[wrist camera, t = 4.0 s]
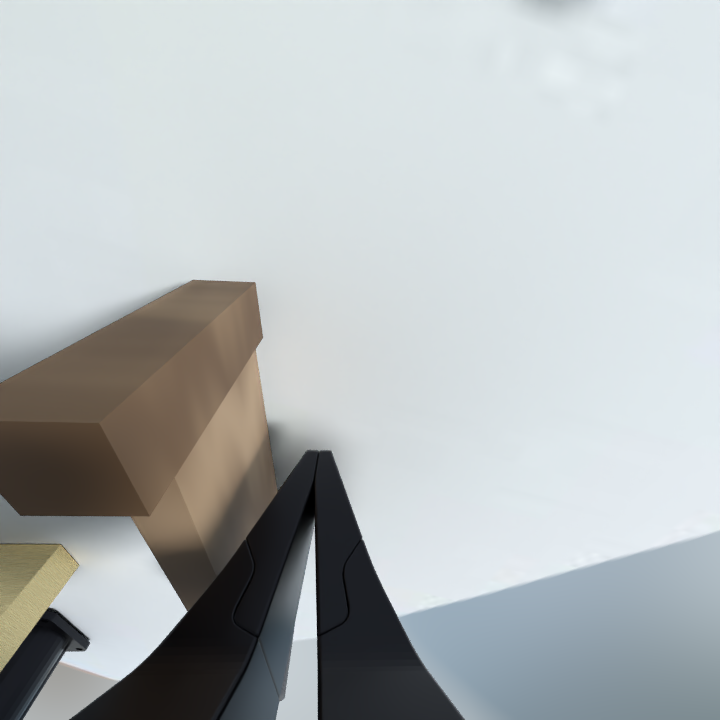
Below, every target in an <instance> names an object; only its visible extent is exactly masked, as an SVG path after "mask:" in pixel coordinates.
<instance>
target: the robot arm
mask: <svg viewBox="0 0 720 720" xmlns="http://www.w3.org/2000/svg"><path fill="white" fill-rule="evenodd" d="M314 524H315V555H316V605H317V655H318V656H317V658H318V720H465V719H464V718H463V717H462V715H461V714H460V712H459V711H458V710H457V709H456V707H455V706H454V704H453V703H452V702H451V700H450V699H449V698H448V697H447V695H446V694H445V693H444V691H443V690H442V689H441V687H440V686H439V685H438V683H437V682H436V681H435V679H434V678H433V677H432V675H431V674H430V673H429V671H428V670H427V669H426V667H425V666H424V664H423V663H422V661H421V660H420V658H419V656H418V654H417V653H416V651H415V649H414V648H413V646H412V644H411V642H410V640H409V638H408V636H407V635H406V633H405V631H404V629H403V627H402V625H401V623H400V621H399V619H398V617H397V615H396V613H395V611H394V609H393V607H392V605H391V603H390V601H389V599H388V597H387V595H386V593H385V591H384V589H383V587H382V584H381V582H380V580H379V578H378V576H377V574H376V571H375V569H374V567H373V564H372V562H371V559H370V556H369V554H368V551H367V549H366V546H365V543H364V540H362V535H361V532H360V529H359V527H358V524H357V521H356V518H355V516H354V513H353V510H352V507H351V504H350V502H349V499H348V496H347V493H346V490H345V488H344V485H343V482H342V479H341V476H340V474H339V471H338V468H337V465H336V463H335V460H334V457H333V454H332V452H331V451H330V450H321V451H318V450H307V451H306V452H305V454H304V455H303V457H302V458H301V459H300V461H299V462H298V464H297V465H296V467H295V468H294V469H293V471H292V472H291V474H290V475H289V477H288V478H287V479H286V481H285V482H284V484H283V485H282V487H281V488H280V489H279V491H278V492H277V494H276V495H275V497H274V498H273V499H272V501H271V502H270V504H269V505H268V507H267V508H266V509H265V511H264V512H263V514H262V515H261V517H260V518H259V519H258V521H257V522H256V524H255V525H254V527H253V528H252V529H251V531H250V532H249V534H248V535H247V537H246V540H244V541H243V542H242V544H241V545H240V546H239V548H238V549H237V551H236V552H235V553H234V555H233V556H232V558H231V559H230V560H229V562H228V563H227V564H226V566H225V567H224V568H223V570H222V571H221V572H220V573H219V575H218V576H217V577H216V578H215V580H214V581H213V582H212V583H211V585H210V586H209V587H208V588H207V589H206V591H205V592H204V593H203V594H202V595H201V597H200V598H199V599H198V600H197V601H196V602H195V604H194V605H193V606H192V607H191V608H190V610H189V611H188V612H187V613H186V614H185V615H184V617H183V618H182V619H181V620H180V621H179V623H178V624H177V625H176V626H175V627H174V628H173V630H172V631H171V632H170V633H169V634H168V636H167V637H166V638H165V639H164V640H163V641H162V643H161V644H160V645H159V646H158V647H157V648H156V649H155V650H154V651H153V652H152V653H151V655H150V656H149V657H148V658H146V659H145V660H144V661H143V662H142V663H141V664H140V665H139V666H138V667H137V668H136V669H134V670H133V671H132V672H131V673H130V674H128V675H127V676H126V677H125V678H123V679H122V680H121V681H119V682H118V683H117V684H115V685H114V686H113V687H112V688H110V689H109V690H108V691H106V692H105V693H104V694H102V695H101V696H100V697H98V698H97V699H96V700H94V701H93V702H92V703H90V704H89V705H88V706H87V707H85V708H84V709H83V710H81V711H80V712H79V713H78V714H76V715H75V716H73V717H72V718H71V719H69V720H276V715H277V710H278V704H279V698H280V694H281V689H282V684H283V679H284V674H285V669H286V664H287V659H288V654H289V649H290V644H291V639H292V634H293V629H294V624H295V619H296V614H297V609H298V604H299V599H300V594H301V589H302V584H303V579H304V574H305V569H306V564H307V559H308V554H309V549H310V544H311V539H312V534H313V529H314ZM89 644H90V642H89V641H87V640H86V639H85V638H84V637H83V636H82V635H81V634H79V633H78V632H77V631H76V630H75V629H74V628H73V627H71V626H70V625H69V624H68V623H67V622H66V621H65V620H63V619H62V618H61V617H60V616H59V615H58V614H56V613H54V612H51V611H45V613H44V614H43V615H42V617H41V618H40V619H39V621H38V622H37V623H36V625H35V626H34V627H33V629H32V630H31V631H30V633H29V634H28V636H27V637H26V638H25V640H24V641H23V642H22V644H21V645H20V646H19V648H18V649H17V650H16V652H15V653H14V654H13V656H12V657H11V659H10V660H9V661H8V663H7V664H6V665H5V667H4V668H3V669H2V671H1V672H0V720H23V718H24V717H25V715H26V713H27V712H28V710H29V708H30V707H31V706H32V704H33V702H34V701H35V699H36V698H37V696H38V694H39V693H40V691H41V690H42V688H43V686H44V685H45V683H46V682H47V680H48V679H49V677H50V675H51V674H52V672H53V671H54V669H55V667H56V666H57V664H58V663H59V661H60V660H61V658H62V656H63V655H64V653H65V652H66V651H86V649H87V648H88V646H89Z"/></svg>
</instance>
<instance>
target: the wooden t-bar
mask: <svg viewBox="0 0 720 720" xmlns="http://www.w3.org/2000/svg"><path fill="white" fill-rule="evenodd" d="M262 338H263V334H262V327H261V320H260V313H259V305H258V298H257V291H256V283H255V282H231V281H206V280H192V281H190V282H188V283H186V284H185V285H183V286H181V287H179V288H177V289H175V290H173V291H172V292H170V293H168V294H166V295H164V296H162V297H160V298H158V299H157V300H155V301H153V302H151V303H149V304H147V305H145V306H143V307H142V308H140V309H138V310H136V311H134V312H132V313H130V314H128V315H127V316H125V317H123V318H121V319H119V320H117V321H115V322H114V323H112V324H110V325H108V326H106V327H104V328H102V329H100V330H99V331H97V332H95V333H93V334H91V335H89V336H87V337H85V338H84V339H82V340H80V341H78V342H76V343H74V344H72V345H71V346H69V347H67V348H65V349H63V350H61V351H59V352H57V353H56V354H54V355H52V356H50V357H48V358H46V359H44V360H42V361H41V362H39V363H37V364H35V365H33V366H31V367H29V368H28V369H26V370H24V371H22V372H20V373H18V374H16V375H14V376H13V377H11V378H9V379H7V380H5V381H3V382H1V383H0V494H1V495H2V496H3V497H4V498H5V499H6V501H7V502H8V503H9V504H10V505H11V506H12V507H13V508H14V509H15V510H16V511H17V512H18V514H19V515H20V516H131V518H132V520H133V521H134V523H135V525H136V526H137V528H138V530H139V531H140V533H141V535H142V536H143V538H144V540H145V541H146V543H147V545H148V546H149V548H150V550H151V551H152V553H153V555H154V556H155V558H156V560H157V561H158V563H159V565H160V566H161V568H162V570H163V571H164V573H165V575H166V576H167V578H168V580H169V581H170V583H171V585H172V586H173V588H174V590H175V591H176V593H177V595H178V596H179V598H180V600H181V601H182V603H183V605H184V606H185V608H186V610H187V611H189V610H190V608H191V607H192V606H193V605H194V604H195V602H196V601H197V600H198V599H199V598H200V597H201V595H202V594H203V593H204V592H205V591H206V589H207V588H208V587H209V586H210V585H211V583H212V582H213V581H214V580H215V578H216V577H217V576H218V575H219V573H220V572H221V571H222V570H223V568H224V567H225V566H226V564H227V563H228V562H229V560H230V559H231V558H232V556H233V555H234V553H235V552H236V551H237V549H238V548H239V546H240V545H241V544H242V542H243V541H244V540H246V537H247V535H248V534H249V532H250V531H251V529H252V528H253V527H254V525H255V524H256V522H257V521H258V519H259V518H260V517H261V515H262V514H263V512H264V511H265V509H266V508H267V507H268V505H269V504H270V502H271V501H272V499H273V498H274V497H275V495H276V494H277V492H278V491H277V484H276V478H275V472H274V465H273V459H272V452H271V446H270V439H269V433H268V426H267V420H266V414H265V407H264V401H263V394H262V388H261V381H260V375H259V369H258V362H257V356H256V348H257V346H258V345H259V343H260V341H261V340H262Z"/></svg>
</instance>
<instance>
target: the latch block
mask: <svg viewBox="0 0 720 720" xmlns="http://www.w3.org/2000/svg"><path fill="white" fill-rule="evenodd" d="M78 566H79V565H78V564H77V563H76V561H75V560H74V559H73V558H72V557H71V556H70V555H69V553H68V552H67V551H66V550H65V549H64V548H63V547H62V545H46V544H0V672H1V671H2V669H3V668H4V667H5V665H6V664H7V663H8V661H9V660H10V659H11V657H12V656H13V654H14V653H15V652H16V650H17V649H18V648H19V646H20V645H21V644H22V642H23V641H24V640H25V638H26V637H27V636H28V634H29V633H30V631H31V630H32V629H33V627H34V626H35V625H36V623H37V622H38V621H39V619H40V618H41V617H42V615H43V614H44V613H45V611H46V610H47V608H48V607H49V606H50V604H51V603H52V602H53V600H54V599H55V598H56V596H57V595H58V594H59V592H60V591H61V589H62V588H63V587H64V585H65V584H66V583H67V581H68V580H69V579H70V577H71V576H72V575H73V573H74V572H75V571H76V569H77V568H78Z"/></svg>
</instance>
